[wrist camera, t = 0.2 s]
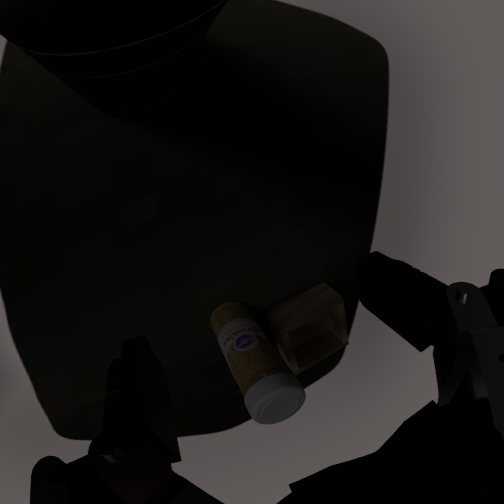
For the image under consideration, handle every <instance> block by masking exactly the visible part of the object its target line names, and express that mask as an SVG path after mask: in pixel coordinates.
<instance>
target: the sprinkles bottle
mask: <svg viewBox="0 0 504 504" xmlns="http://www.w3.org/2000/svg"><path fill="white" fill-rule="evenodd" d="M210 321H211V322H210V324H211V327H212V330H213V331H214V332H215V334H216V337H217V339H218V342H219V345H220V347H221V350H222V352H223V354H224V356H225V359H226V361H227V363H228V365H229V367H230V370H231V372H232V374H233V376H234V378H235V380H236V381H237V383H238V385H239V387H240V389H241V391H242V394H243V396H244V401H245V405H246V407H247V409H248V411H249V413H250V415H251V417H252V418H253V420H254V421H256V422H258V423H260V424H274V423H278V422H281V421H283V420H285V419H287V418H289V417H291V416H292V415H294V414H295V413H296V412H297V411H298V410H299V409H300V408H301V406H302V405H303V403H304V401H305V397H306V395H305V391H304V389H303V388H302V386H301V385H300V383H299V382H298V380H297V379H296V377H295V376H293V375H292V374H291V373H290V372H289V371H288V370H287V368H286V367H285V365H284V364H283V362H282V361H281V359H280V358H279V356H278V355H277V353H276V352H275V350H274V349H273V347H272V346H271V344H270V343H269V341H268V339H267V337H266V336H265V334H264V333H263V331H262V330H261V328H260V327H259V325H258V324H257V323H256V322H255V321H254V319H253V318H252V316H251V315H250V312H249V310H248V308H247V307H246V306H245V305H243V304H242V303H239V302H234V301H233V302H226V303H224V304H221V305H220V306H218V307H217V308H216V309H215V311H214V312H213V313H212V316H211V319H210Z"/></svg>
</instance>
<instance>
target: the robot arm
mask: <svg viewBox="0 0 504 504" xmlns="http://www.w3.org/2000/svg"><path fill="white" fill-rule="evenodd" d="M227 1H228V0H0V35H2V36H3V37H5V38H6V39H7V40H8V41H10V42H12V43H13V44H14V45H16V46H17V47H18V48H19V49H21V50H22V51H23V52H25V53H26V54H27V55H29V56H30V57H31V58H32V59H34V60H35V61H37V62H38V63H39V64H41V65H42V66H43V67H44V68H46V69H47V70H48V71H50V72H51V73H52V74H53V75H55V76H56V77H57V78H58V79H60V80H61V81H62V82H63V83H65V84H66V85H67V86H68V87H70V88H71V89H72V90H73V91H75V92H76V93H77V94H78V95H80V96H81V97H82V98H83V99H85V100H86V101H87V102H88V103H89V104H91V105H92V106H93V107H95V108H96V109H98V110H100V111H101V112H103V113H106V114H109V115H112V116H121V117H126V116H135V115H138V114H142V113H145V112H147V111H149V110H151V109H153V108H155V107H157V106H158V105H159V104H161V103H162V102H163V101H165V100H166V99H167V98H168V97H169V96H170V94H171V93H172V92H173V91H174V89H175V88H176V86H177V84H178V83H179V81H180V79H181V77H182V75H183V74H184V72H185V70H186V68H187V66H188V64H189V63H190V61H191V59H192V57H193V56H194V54H195V52H196V50H197V49H198V47H199V45H200V43H201V42H202V40H203V38H204V37H205V35H206V33H207V32H208V30H209V29H210V27H211V25H212V24H213V22H214V21H215V19H216V17H217V16H218V14H219V13H220V11H221V10H222V8H223V7H224V5H225V4H226V2H227ZM357 274H358V295H359V299H360V301H361V303H362V305H363V306H364V307H365V308H366V309H368V310H369V311H370V312H371V313H373V314H374V315H375V316H376V317H378V318H379V319H380V320H381V321H383V322H384V323H385V324H386V325H388V326H389V327H390V328H391V329H393V330H394V331H395V332H396V333H398V334H399V335H400V336H401V337H402V338H404V339H405V340H406V341H408V342H409V343H410V344H411V345H412V346H414V347H415V348H416V349H417V350H418V351H420V352H422V351H424V350H425V349H426V348H428V347H429V346H430V345H432V346H434V350H433V358H434V364H435V370H436V377H437V383H438V392H439V398H438V403H437V404H436V403H435V402H434V401H433V400H432V401H431V402H429V403H428V404H427V405H426V406H424V407H423V408H422V409H421V410H419V411H418V412H416V413H415V414H414V415H412V416H411V417H410V418H408V419H407V420H406V421H404V422H403V423H402V425H401V426H400V427H399V428H398V429H397V430H396V431H395V432H394V434H393V435H392V436H391V437H390V438H389V439H388V440H387V441H386V442H385V443H384V444H383V445H382V446H381V447H380V448H379V449H378V450H377V451H376V452H374V453H372V454H369V455H366V456H363V457H359V458H356V459H353V460H350V461H346V462H343V463H339V464H336V465H332V466H329V467H327V468H325V469H323V470H321V471H319V472H317V473H315V474H312V475H310V476H308V477H306V478H303V479H301V480H299V481H296V482H294V483H291V484H289V487H290V489H291V491H292V493H290V494H289V495H288V496H286V497H285V498H283V499H282V500H281V501H280V502H278V503H277V504H504V269H496V270H494V271H493V272H491V275H490V280H489V284H488V285H486V286H483V287H480V288H478V287H476V286H475V285H473V284H470V283H466V282H456V283H453V284H451V285H449V286H447V285H446V284H444V283H442V282H440V281H438V280H437V279H435V278H433V277H431V276H429V275H427V274H426V273H424V272H421V271H420V270H418V269H416V268H413V267H412V266H411V265H409V264H407V263H405V262H403V261H399V260H395V259H391V258H389V257H387V256H385V255H383V254H382V253H380V252H377V251H374V252H372V253H370V254H367V255H365V256H363V257H360V258H359V259H358V261H357ZM180 461H181V456H180V451H179V446H178V441H177V436H176V430H175V424H174V419H173V413H172V406H171V400H170V393H169V386H168V381H167V377H166V375H165V372H164V370H163V368H162V366H161V364H160V362H159V361H158V359H157V357H156V355H155V353H154V352H153V350H152V348H151V346H150V344H149V342H148V340H147V339H146V337H145V336H139V337H136V338H133V339H130V340H126V341H123V344H122V354H121V358H118V359H114V361H113V363H112V364H111V366H110V368H109V370H108V374H107V385H106V395H105V405H104V420H103V431H102V432H101V433H99V434H98V435H97V436H96V437H95V438H94V439H93V440H92V442H91V444H90V446H89V450H88V455H86V456H84V457H81V458H79V459H77V460H75V461H72V462H70V463H68V464H66V463H64V462H63V461H62V460H60V459H59V458H58V457H55V456H46V457H44V458H42V459H40V460H39V461H38V462H37V463H36V465H35V466H34V468H33V470H32V474H31V488H30V504H224V503H222V502H221V501H219V500H217V499H216V498H214V497H213V496H211V495H209V494H208V493H206V492H205V491H203V490H201V489H200V488H199V487H197V486H196V485H194V484H193V483H191V482H190V481H188V480H187V479H185V478H184V477H182V476H180V475H178V474H177V473H175V472H174V471H173V470H172V467H171V463H175V462H180Z"/></svg>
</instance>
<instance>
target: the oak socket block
mask: <svg viewBox="0 0 504 504" xmlns="http://www.w3.org/2000/svg"><path fill="white" fill-rule="evenodd" d="M265 313H266V316H267V319H268V321H269V324H270V327H271V330H272V332H273V335H274V338H275V341H276V343H277V346H278V349H279V352H280V354H281V357H282V358H283V359H284V361H285V362H286V364H287V365H288V367H289V368H290V369H291V371H292V372H293V374H294V375H297V374H299V373H300V372H302V371H304V370H306V369H308V368H309V367H311V366H313V365H315V364H316V363H318V362H320V361H321V360H323V359H325V358H326V357H328V356H330V355H331V354H333V353H335V352H336V351H338V350H340V349H341V348H343V347H344V346H346V345H348V334H347V325H346V316H345V308H344V301H343V297H342V296H341V295H340V294H339V293H337V292H336V291H335V290H333V289H332V288H331V287H330V286H328V285H327V284H326V283H325V282H323V283H321V284H319V285H317V286H315V287H313V288H311V289H310V290H308V291H306V292H304V293H302V294H300V295H298V296H296V297H294V298H292V299H290V300H289V301H287V302H285V303H283V304H281V305H279V306H277V307H275V308H273V309H271V310H269V311H267V312H265Z"/></svg>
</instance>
